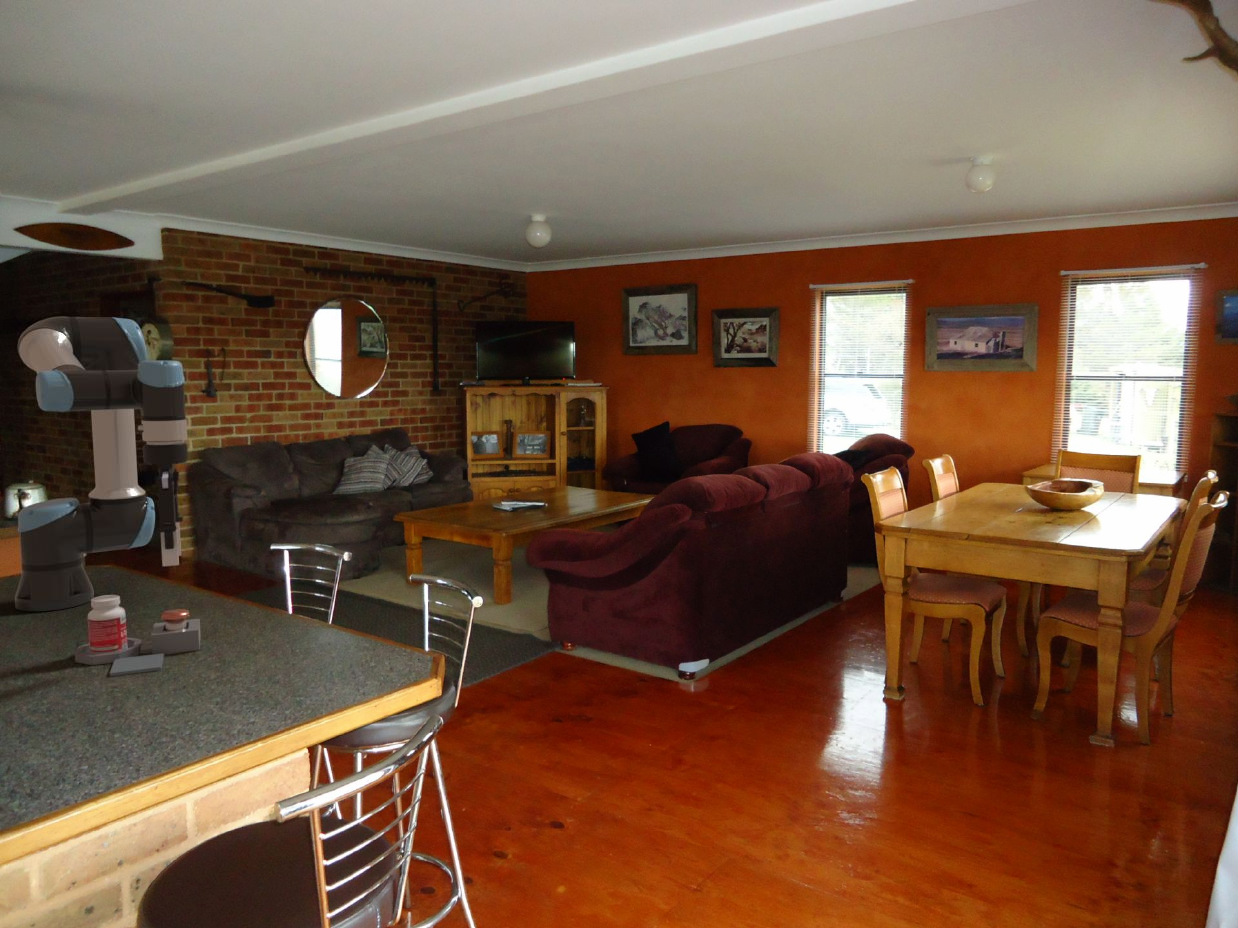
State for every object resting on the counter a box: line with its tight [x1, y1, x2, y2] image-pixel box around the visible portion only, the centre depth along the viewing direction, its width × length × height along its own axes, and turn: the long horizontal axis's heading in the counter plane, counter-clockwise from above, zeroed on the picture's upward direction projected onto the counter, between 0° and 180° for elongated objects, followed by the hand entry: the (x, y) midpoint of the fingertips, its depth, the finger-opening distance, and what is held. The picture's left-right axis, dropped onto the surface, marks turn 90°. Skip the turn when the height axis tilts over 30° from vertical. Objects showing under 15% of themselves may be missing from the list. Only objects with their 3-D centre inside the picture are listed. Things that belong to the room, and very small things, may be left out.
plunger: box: [160, 608, 190, 631], centre depth 168 cm, size 5×5×6 cm
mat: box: [109, 653, 165, 677], centre depth 158 cm, size 8×8×1 cm
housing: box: [74, 618, 202, 666], centre depth 166 cm, size 10×21×4 cm, turn 114°
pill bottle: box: [87, 594, 128, 655], centre depth 163 cm, size 6×6×11 cm
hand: (172, 560), depth 167 cm, fingers open, 8 cm apart
